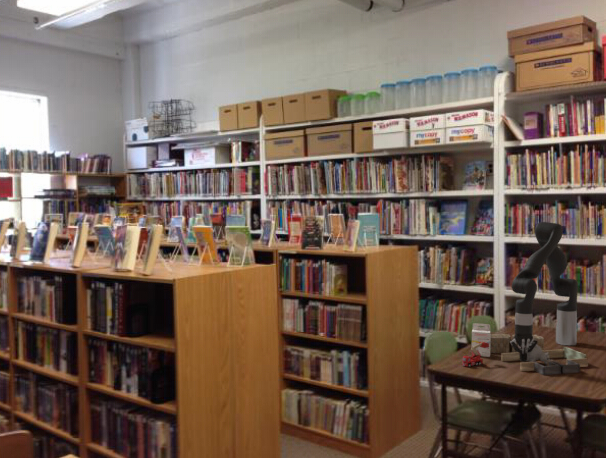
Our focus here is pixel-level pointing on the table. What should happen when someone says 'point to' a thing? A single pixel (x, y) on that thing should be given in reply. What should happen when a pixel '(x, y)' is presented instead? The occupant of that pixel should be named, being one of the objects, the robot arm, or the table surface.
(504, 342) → the block tower
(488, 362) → the table surface
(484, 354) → the ink cartridge box
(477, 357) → the toy fire truck
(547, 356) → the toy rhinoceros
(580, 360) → the trap channel
